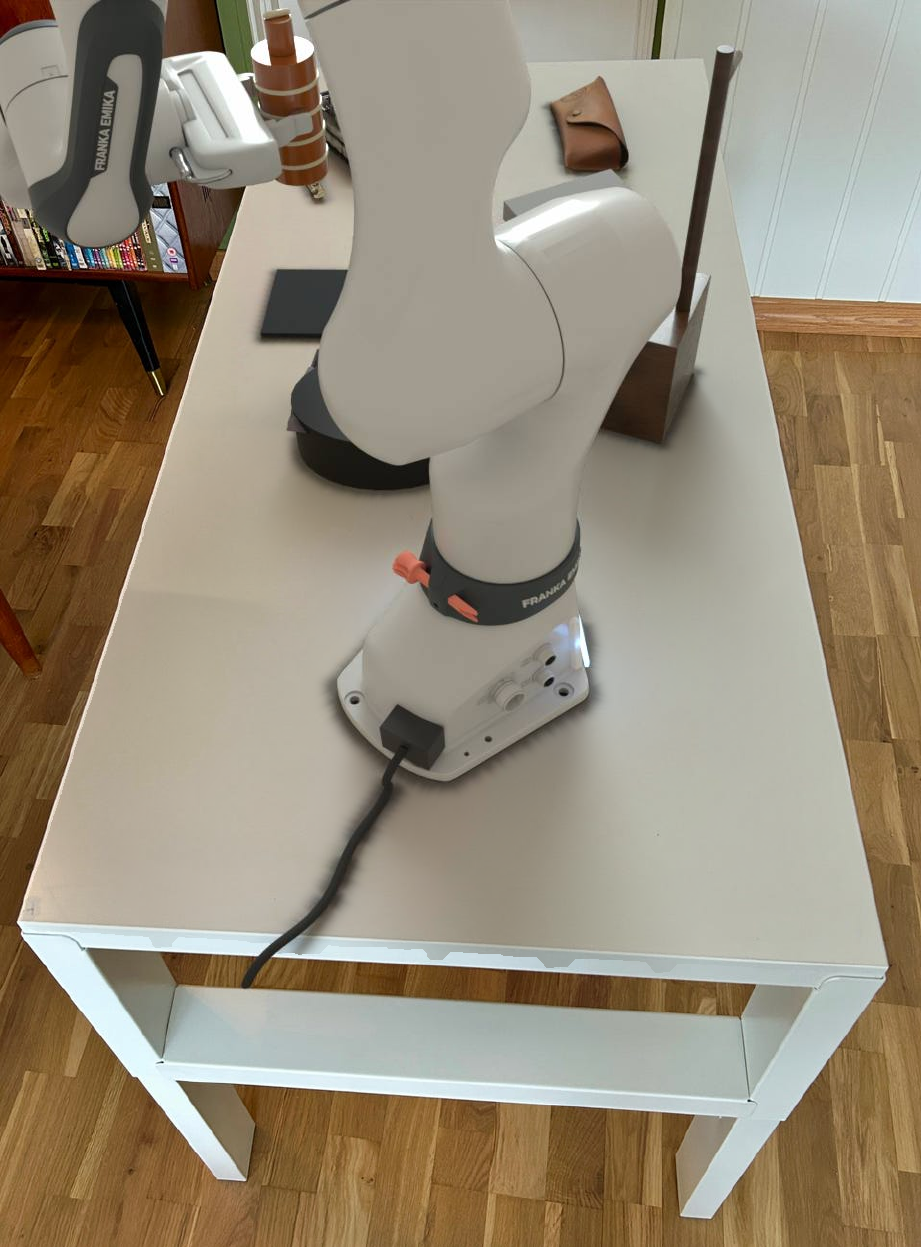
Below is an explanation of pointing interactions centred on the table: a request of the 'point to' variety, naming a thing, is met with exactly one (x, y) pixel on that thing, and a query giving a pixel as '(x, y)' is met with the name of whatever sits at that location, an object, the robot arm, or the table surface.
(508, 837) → the table surface
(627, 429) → the hanger rack
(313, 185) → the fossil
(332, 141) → the toy tank
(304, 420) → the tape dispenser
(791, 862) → the table surface
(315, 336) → the rubber mat
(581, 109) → the sunglasses case
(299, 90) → the brown banded bottle
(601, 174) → the grey rectangular block
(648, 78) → the table surface
